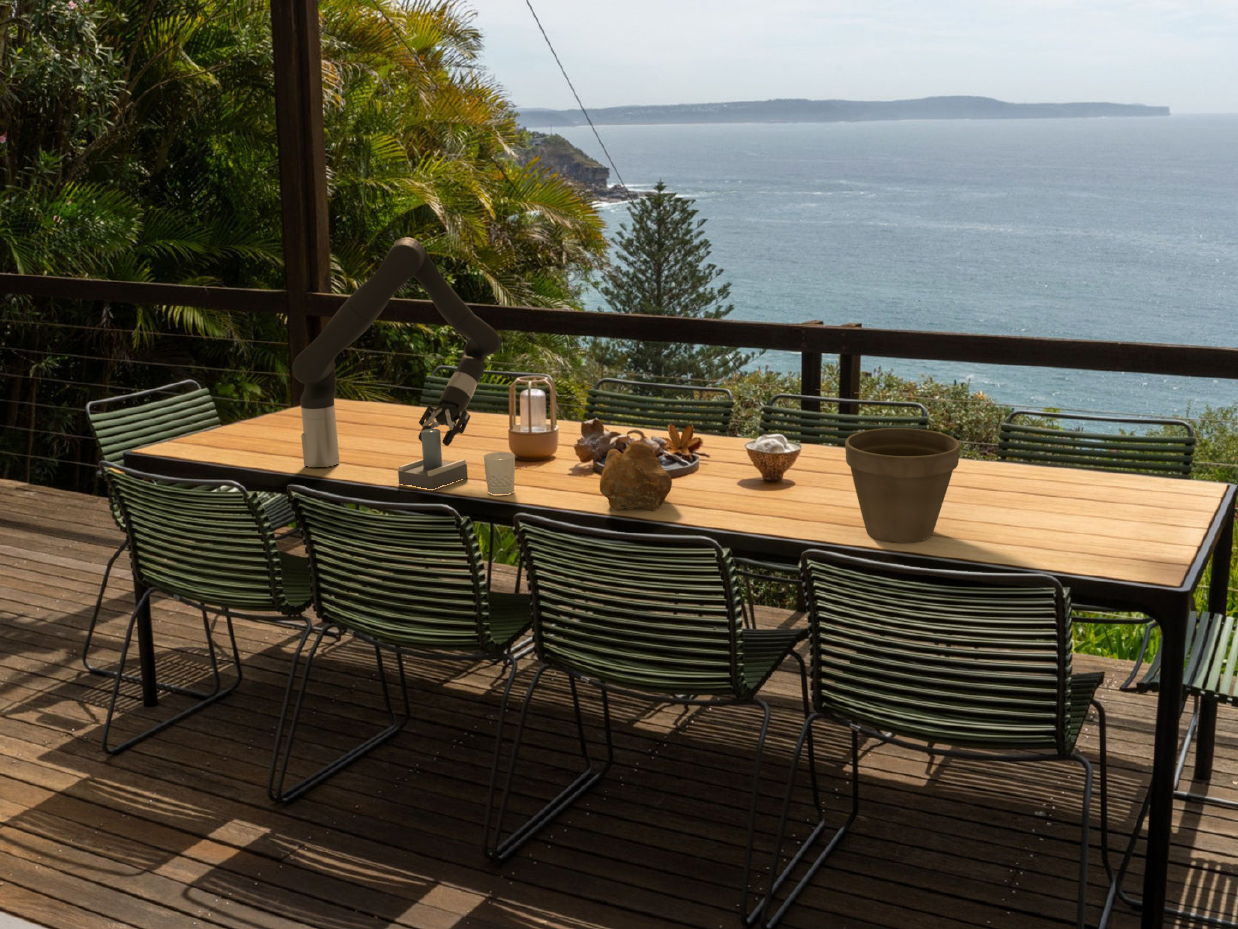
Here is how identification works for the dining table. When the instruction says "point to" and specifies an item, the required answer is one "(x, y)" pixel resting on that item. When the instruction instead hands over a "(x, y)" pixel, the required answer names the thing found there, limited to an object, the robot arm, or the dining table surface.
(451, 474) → the block
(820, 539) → the dining table surface
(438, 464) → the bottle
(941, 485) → the plant pot
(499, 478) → the white cup
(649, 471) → the rough brown rock
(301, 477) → the dining table surface
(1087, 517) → the dining table surface
